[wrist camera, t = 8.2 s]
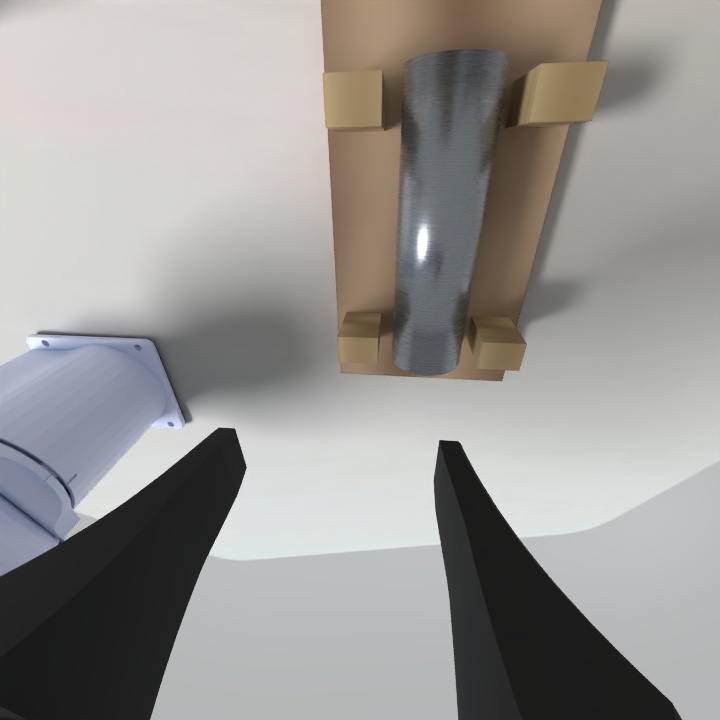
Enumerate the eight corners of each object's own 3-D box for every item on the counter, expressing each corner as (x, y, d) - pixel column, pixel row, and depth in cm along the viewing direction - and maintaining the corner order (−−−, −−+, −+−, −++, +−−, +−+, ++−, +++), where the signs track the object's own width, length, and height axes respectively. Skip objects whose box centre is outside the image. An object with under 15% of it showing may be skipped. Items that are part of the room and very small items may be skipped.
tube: (391, 340, 19) (390, 374, 16) (403, 75, 13) (404, 51, 10) (453, 341, 19) (464, 377, 16) (495, 72, 13) (526, 46, 10)
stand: (343, 364, 22) (332, 402, 19) (325, 3, 13) (298, -50, 10) (497, 372, 21) (516, 413, 18) (594, -14, 12) (670, -80, 9)
